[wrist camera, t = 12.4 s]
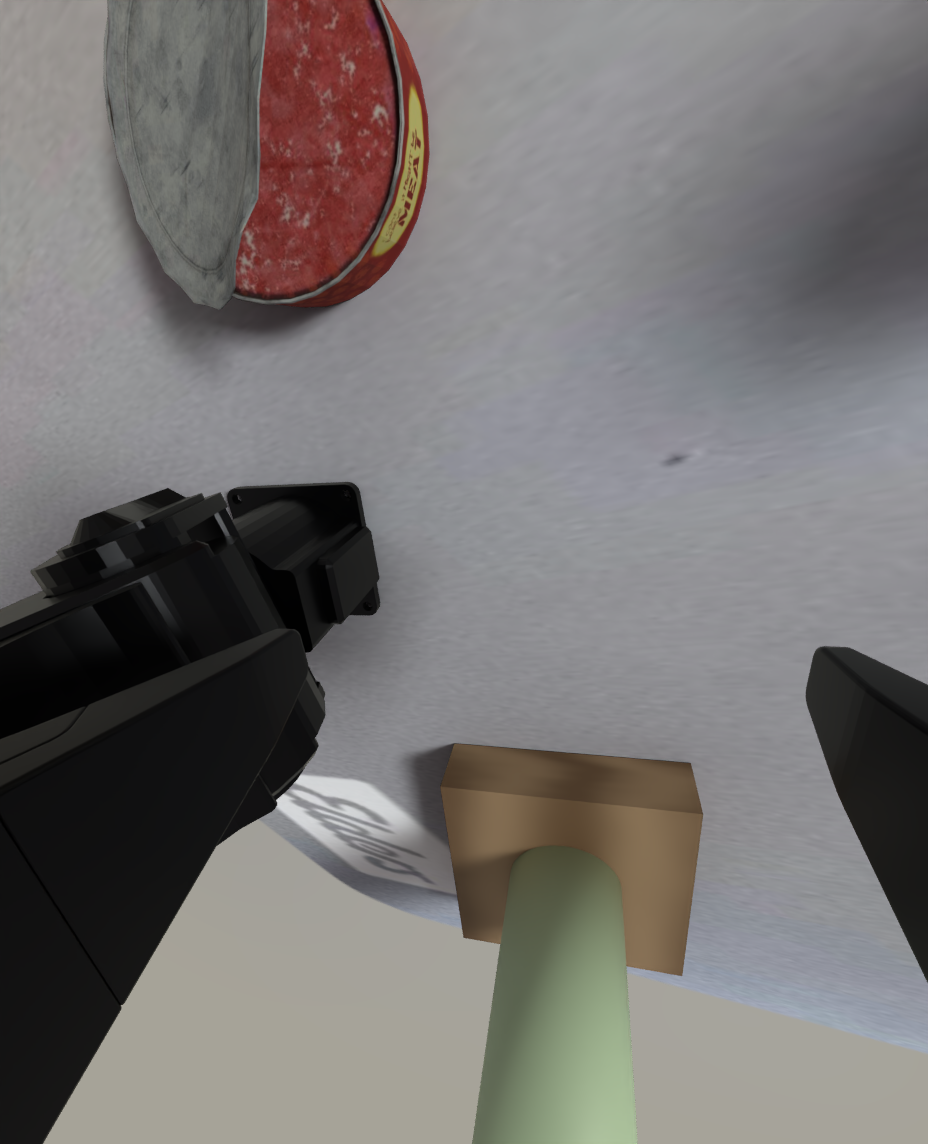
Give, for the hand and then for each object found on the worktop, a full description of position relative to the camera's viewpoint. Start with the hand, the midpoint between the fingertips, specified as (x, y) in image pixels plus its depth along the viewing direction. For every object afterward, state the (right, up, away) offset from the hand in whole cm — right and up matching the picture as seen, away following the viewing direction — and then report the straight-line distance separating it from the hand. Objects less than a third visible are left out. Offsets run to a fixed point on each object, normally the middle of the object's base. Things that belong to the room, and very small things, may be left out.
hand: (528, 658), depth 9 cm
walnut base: (+5, -13, +20) cm, 24 cm away
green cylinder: (+4, -15, +17) cm, 23 cm away
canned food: (-7, +16, +9) cm, 20 cm away
